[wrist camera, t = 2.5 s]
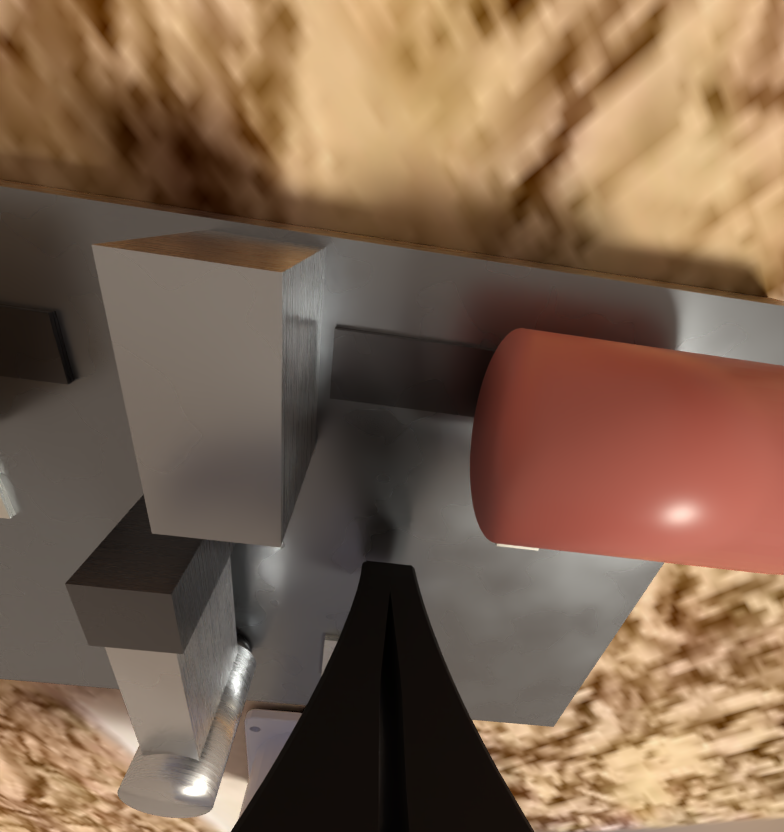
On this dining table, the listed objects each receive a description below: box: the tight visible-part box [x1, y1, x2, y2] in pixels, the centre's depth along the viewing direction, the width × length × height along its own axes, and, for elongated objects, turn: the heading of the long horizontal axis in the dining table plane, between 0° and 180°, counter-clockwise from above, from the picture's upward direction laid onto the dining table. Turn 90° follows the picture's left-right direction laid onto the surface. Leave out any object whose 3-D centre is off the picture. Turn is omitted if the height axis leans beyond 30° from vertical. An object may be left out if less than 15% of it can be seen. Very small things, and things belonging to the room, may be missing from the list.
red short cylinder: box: [470, 328, 784, 575], centre depth 7 cm, size 4×5×4 cm
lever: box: [65, 494, 256, 818], centre depth 10 cm, size 9×2×4 cm, turn 172°
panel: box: [0, 180, 784, 727], centre depth 11 cm, size 17×22×5 cm
